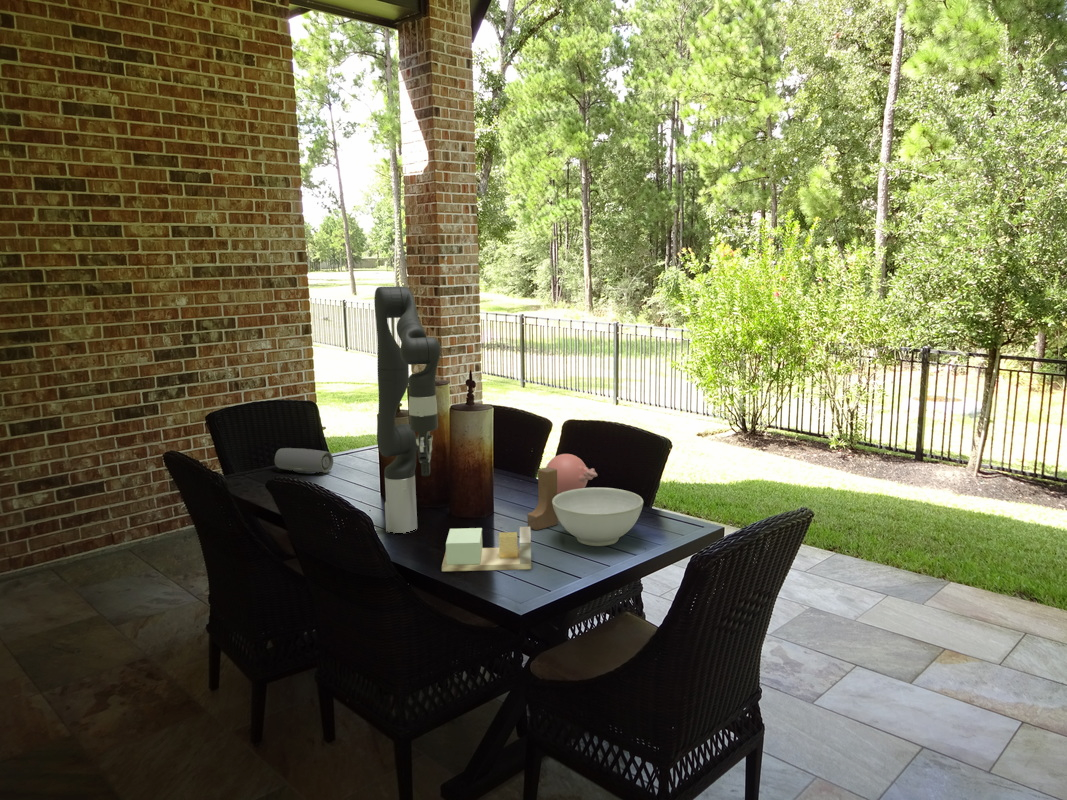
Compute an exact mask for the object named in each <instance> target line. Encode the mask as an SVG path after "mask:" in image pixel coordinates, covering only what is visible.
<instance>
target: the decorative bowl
mask: <svg viewBox="0 0 1067 800" xmlns="http://www.w3.org/2000/svg"><path fill="white" fill-rule="evenodd" d="M552 504H553V508H554V511H555V513H556V516H557V518H558V522H559V523H560V524H561V525H562V527H564V529H565V530H566V531H567V532H568V533H570V534H571V535H572V536H573V537H575V538H576V540H577V541H578V542H579V543H580V544H582V545H587V546H592V547H593V546H594V547H605V546H611V545H614V544H616V543H617V542H618V541H619V538H621V537H623V536H624V535H626V534H627V533H628V532H629V531H630V530H631V529H632V528H633V527H634V525H635V524H636V522H637V521H638V519H639V517H640V516H641V512H642V509H643V506H644V499H643V498H642V496H640V495H639V494H637V493H635V492H632V491H629V490H624V489H621V488H620V489H619V488H613V487H585V488H580V489H574V490H569V491H565V492H562V493H560V494H558V495H556V496H555V497H554V498H553V500H552Z"/></svg>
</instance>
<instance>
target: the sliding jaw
mask: <svg viewBox="0 0 1067 800" xmlns="http://www.w3.org/2000/svg"><path fill="white" fill-rule="evenodd" d="M483 548H484V547H483V528H482V527H476V528H475V527H469V528H449V531H448V535H447V538H446V542H445V552H446V560H447V565H462V564H480V562H481V555H482V549H483Z"/></svg>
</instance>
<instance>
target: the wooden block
mask: <svg viewBox="0 0 1067 800" xmlns="http://www.w3.org/2000/svg"><path fill="white" fill-rule="evenodd" d="M537 482H538V483H537V486H538V487H537V489H538V491H537V492H538V495H537V496H538V499H537V500H538V501H537V505H536V507H535V508H534V510H533V511H531V512H528V513H527V527H530V530H533V531H538V530H543V529H546V528H550V527H553V526H558V525H559V519H558V518H557V516H556V513H555V511H554V508H553V504H552V500H553V498H554V497H555V496H556V495H558V492H557V469H553V468H550V467H542V468H539V469H537Z"/></svg>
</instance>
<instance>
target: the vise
mask: <svg viewBox="0 0 1067 800" xmlns="http://www.w3.org/2000/svg"><path fill="white" fill-rule="evenodd" d="M531 535H532V534H531V528H530V527H528V526H519V546H518V558H499V547H483V549H482V555H481V562H480V564H462V565H447V560H446V551H445V553H444V557H443V559H442V564H441V572H468V571H469V572H471V571H472V572H474V571H505V570H506V571H507V570H508V571H510V570H511V571H512V570H514V571H515V570H517V571H518V570H532V545H531V544H532V541H531V539H532V538H531Z"/></svg>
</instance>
